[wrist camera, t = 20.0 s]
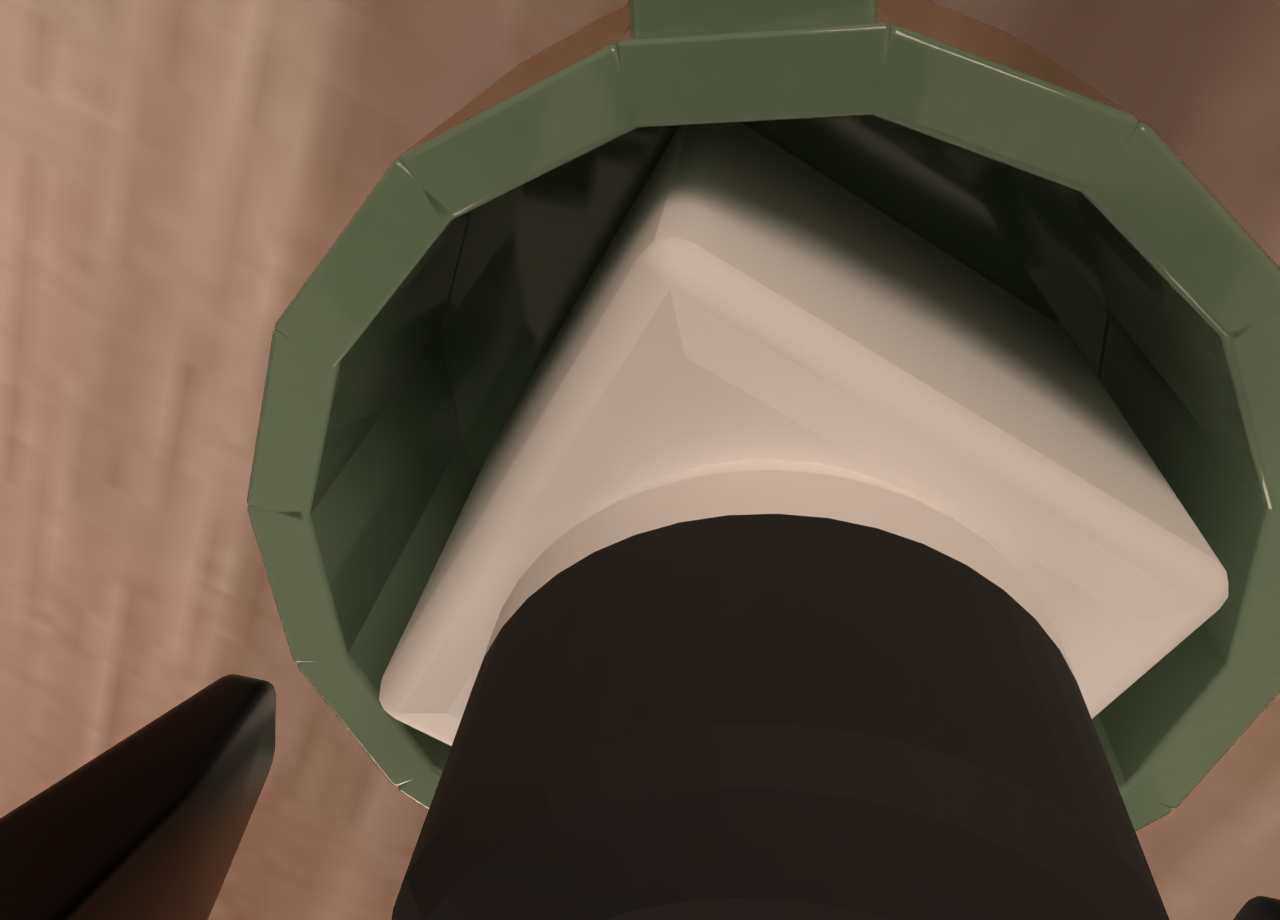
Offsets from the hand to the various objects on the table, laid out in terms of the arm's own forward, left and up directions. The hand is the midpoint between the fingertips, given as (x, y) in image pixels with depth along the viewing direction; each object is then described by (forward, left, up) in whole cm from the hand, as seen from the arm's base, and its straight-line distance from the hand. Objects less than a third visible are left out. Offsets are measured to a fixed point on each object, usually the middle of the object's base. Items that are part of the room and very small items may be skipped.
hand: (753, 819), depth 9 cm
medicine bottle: (0, 0, -10) cm, 10 cm away
